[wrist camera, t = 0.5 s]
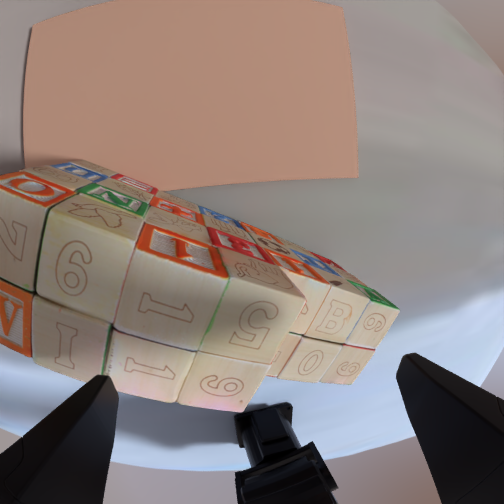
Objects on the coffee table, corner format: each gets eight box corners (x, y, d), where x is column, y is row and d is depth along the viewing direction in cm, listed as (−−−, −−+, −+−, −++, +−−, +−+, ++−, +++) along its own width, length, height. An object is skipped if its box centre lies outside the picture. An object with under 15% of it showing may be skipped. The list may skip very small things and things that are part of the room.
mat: (354, 177, 23) (358, 177, 22) (34, 213, 17) (30, 214, 17) (339, 9, 18) (342, 7, 17) (35, 27, 12) (32, 25, 12)
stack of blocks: (333, 258, 24) (434, 335, 13) (300, 319, 26) (373, 417, 15) (80, 158, 17) (-25, 177, 6) (57, 240, 18) (-30, 333, 7)
